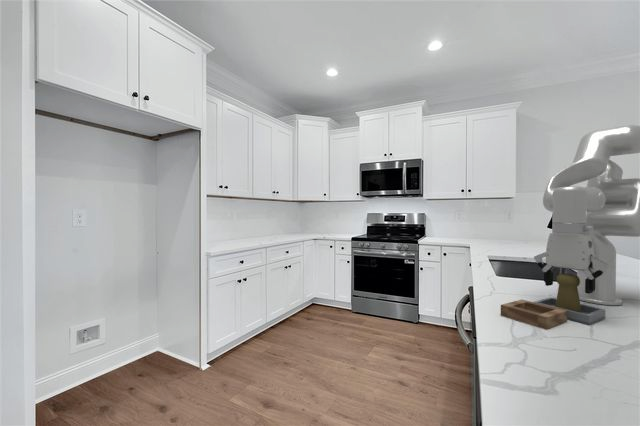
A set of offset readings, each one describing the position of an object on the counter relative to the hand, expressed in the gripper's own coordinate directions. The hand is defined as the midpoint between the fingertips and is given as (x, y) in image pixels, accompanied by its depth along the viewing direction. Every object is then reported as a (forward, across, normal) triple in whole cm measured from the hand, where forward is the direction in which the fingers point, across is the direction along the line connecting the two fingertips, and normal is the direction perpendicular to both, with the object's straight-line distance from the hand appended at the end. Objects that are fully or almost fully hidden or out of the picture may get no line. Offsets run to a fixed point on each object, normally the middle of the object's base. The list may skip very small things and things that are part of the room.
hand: (568, 288), depth 84 cm
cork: (+7, 0, 0) cm, 7 cm away
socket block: (+7, +3, +13) cm, 15 cm away
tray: (+7, 0, 0) cm, 7 cm away
